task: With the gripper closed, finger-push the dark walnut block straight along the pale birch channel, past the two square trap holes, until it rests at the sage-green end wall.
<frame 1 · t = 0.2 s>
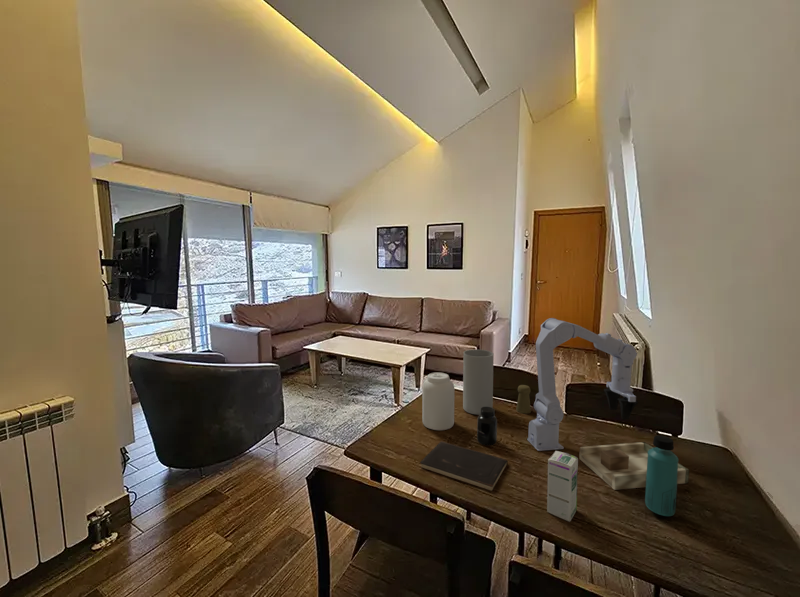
hand: (618, 413, 126), 10 cm above the table, fingers open, 7 cm apart
walnut block: (614, 466, 109), point 2 cm above the table, touching trap box
supplement bottle: (486, 441, 128), on the table
syrup box: (561, 512, 92), on the table
cylinder vase: (477, 409, 155), on the table
cork: (523, 411, 153), on the table
trap box: (628, 470, 109), on the table
hardcover book: (463, 468, 113), on the table
beverage bottle: (658, 513, 91), on the table
white lidded jar: (438, 424, 142), on the table
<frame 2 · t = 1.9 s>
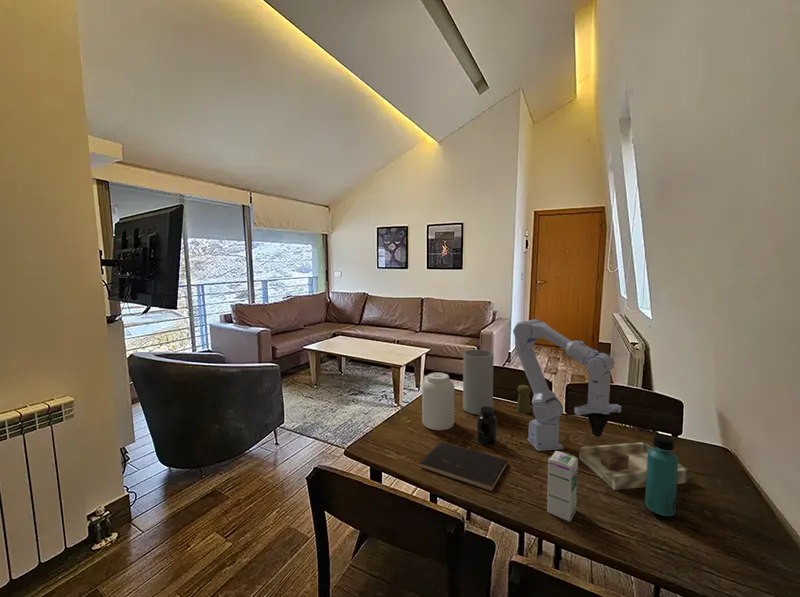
hand: (596, 435, 112), 10 cm above the table, fingers closed
nothing on the table moved.
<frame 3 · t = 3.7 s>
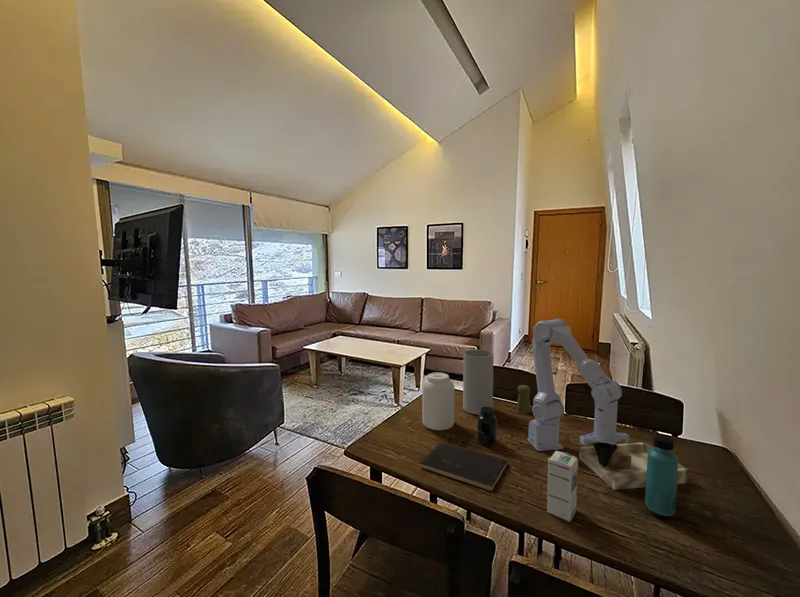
hand: (603, 464, 108), 3 cm above the table, fingers closed
walnut block: (616, 465, 109), point 2 cm above the table, touching gripper
everything else where it was.
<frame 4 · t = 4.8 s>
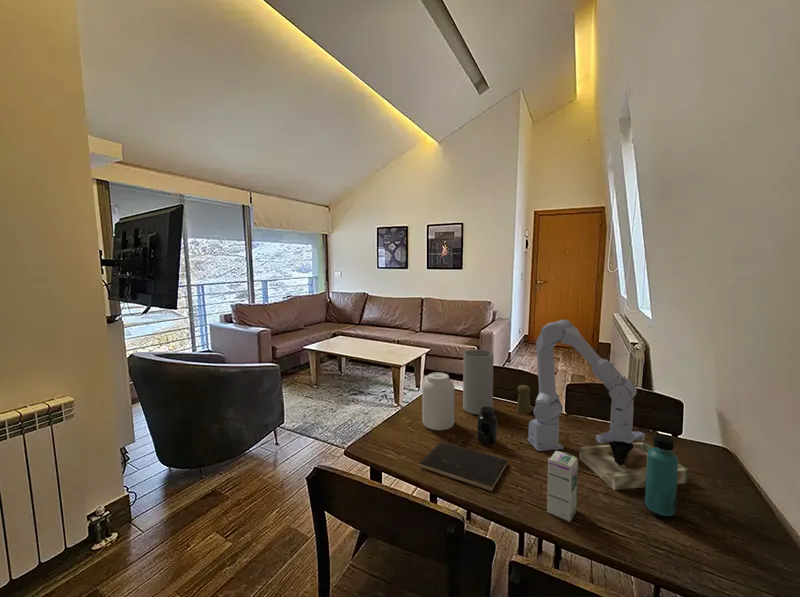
hand: (619, 463, 109), 3 cm above the table, fingers closed
walnut block: (632, 464, 109), point 2 cm above the table, touching gripper, trap box
everything else where it was.
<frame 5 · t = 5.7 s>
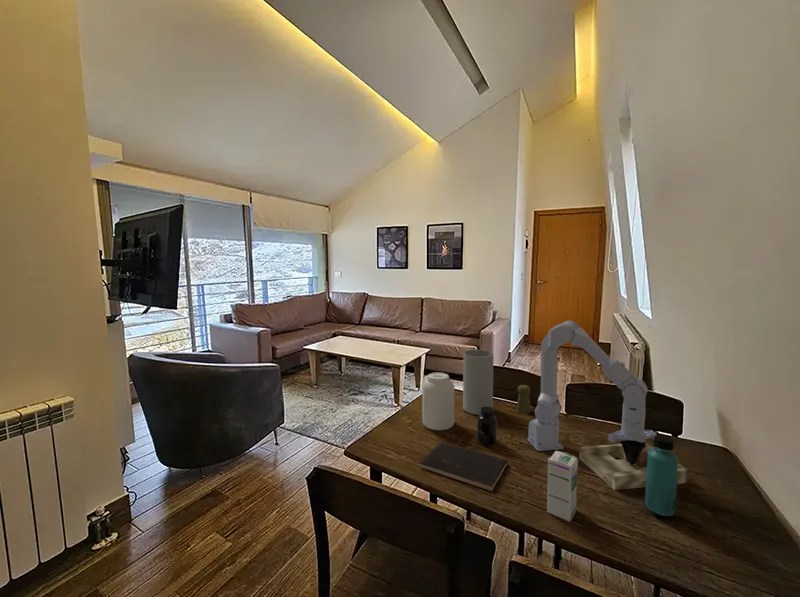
hand: (630, 462, 109), 3 cm above the table, fingers closed
walnut block: (643, 463, 110), point 2 cm above the table, touching gripper, trap box
everything else where it was.
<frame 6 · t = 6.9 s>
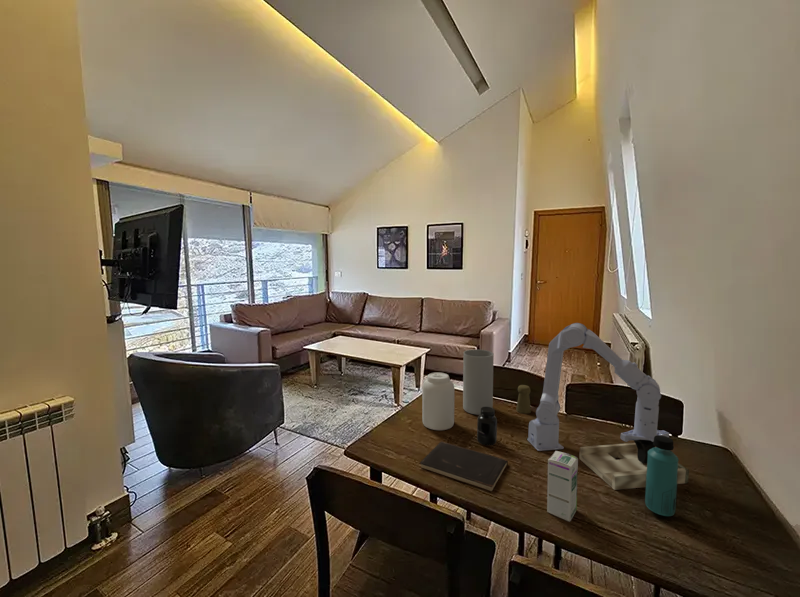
hand: (642, 461, 110), 2 cm above the table, fingers closed, pressing on walnut block
walnut block: (652, 462, 110), point 2 cm above the table, touching gripper, trap box
everything else where it was.
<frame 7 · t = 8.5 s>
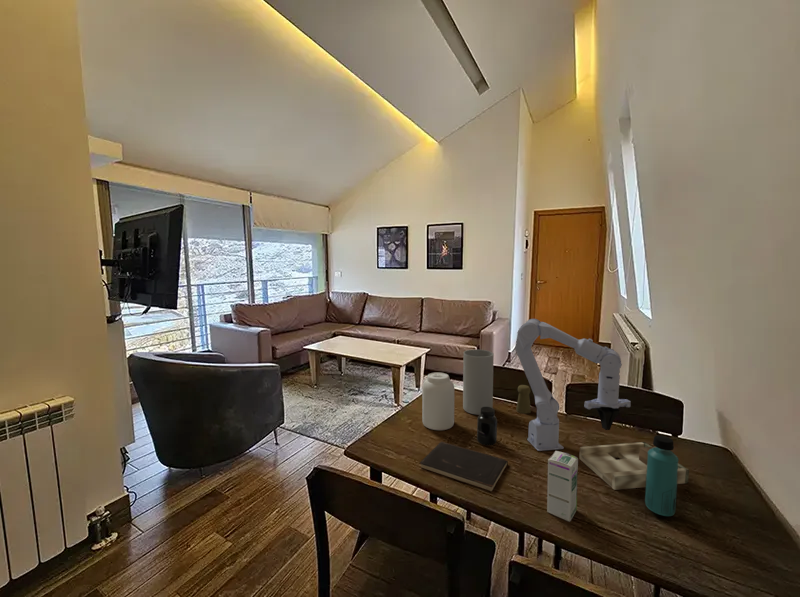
hand: (605, 428, 116), 10 cm above the table, fingers closed
walnut block: (652, 462, 110), point 2 cm above the table, touching trap box
everything else where it was.
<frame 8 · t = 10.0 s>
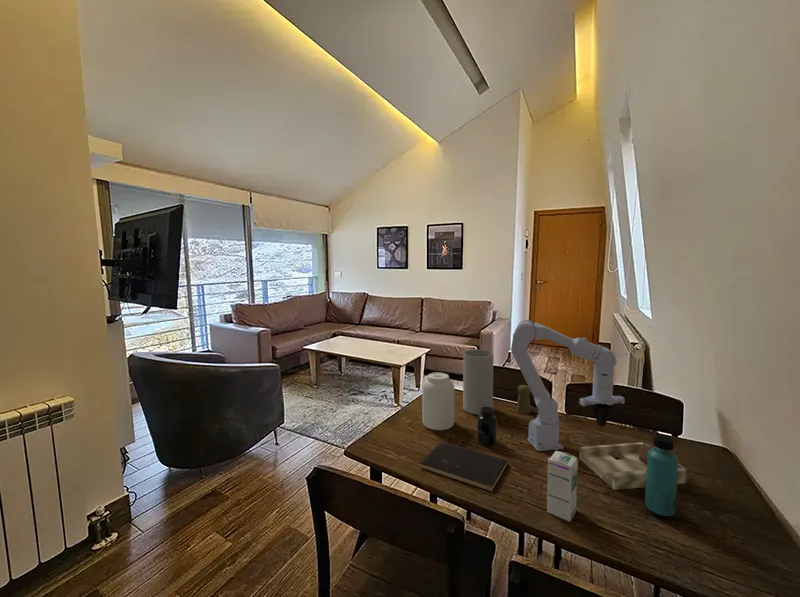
hand: (600, 425, 118), 10 cm above the table, fingers closed
nothing on the table moved.
at the end: walnut block 0.1 cm from the target spot on the trap box, point 1.8 cm above the trap box's base; walnut block tilted 0° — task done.
